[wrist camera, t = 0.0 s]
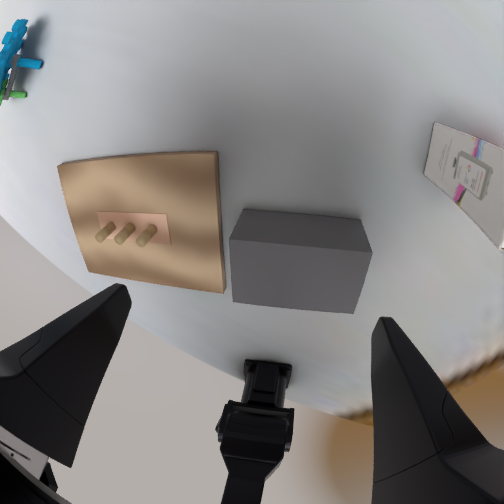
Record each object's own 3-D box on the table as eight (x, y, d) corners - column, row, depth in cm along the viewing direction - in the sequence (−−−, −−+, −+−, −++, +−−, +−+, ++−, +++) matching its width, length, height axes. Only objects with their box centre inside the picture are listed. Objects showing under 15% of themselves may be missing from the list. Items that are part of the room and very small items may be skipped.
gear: (28, 6, 10) (-9, 38, 7) (67, 13, 15) (42, 45, 12) (2, 80, 17) (-25, 129, 14) (37, 85, 21) (17, 133, 18)
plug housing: (347, 276, 25) (353, 313, 21) (244, 266, 26) (232, 302, 22) (360, 219, 22) (372, 252, 18) (243, 209, 23) (229, 239, 19)
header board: (225, 287, 28) (217, 311, 26) (92, 267, 31) (78, 284, 28) (217, 151, 21) (203, 162, 18) (63, 162, 23) (41, 174, 20)
